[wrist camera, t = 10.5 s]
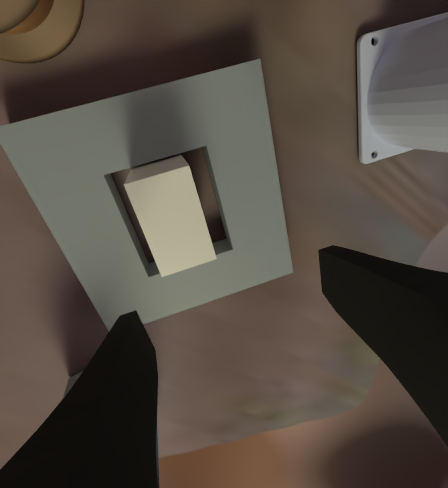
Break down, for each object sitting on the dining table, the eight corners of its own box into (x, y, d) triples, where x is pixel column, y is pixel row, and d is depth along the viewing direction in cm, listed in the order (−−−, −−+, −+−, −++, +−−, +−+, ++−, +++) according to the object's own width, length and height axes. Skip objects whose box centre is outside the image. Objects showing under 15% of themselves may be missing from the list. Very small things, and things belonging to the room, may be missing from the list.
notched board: (249, 64, 17) (260, 58, 15) (282, 260, 23) (293, 272, 21) (10, 127, 15) (-9, 128, 14) (114, 317, 22) (111, 335, 20)
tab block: (178, 151, 18) (189, 165, 13) (200, 222, 20) (216, 258, 15) (132, 165, 18) (123, 184, 12) (159, 234, 20) (161, 277, 14)
